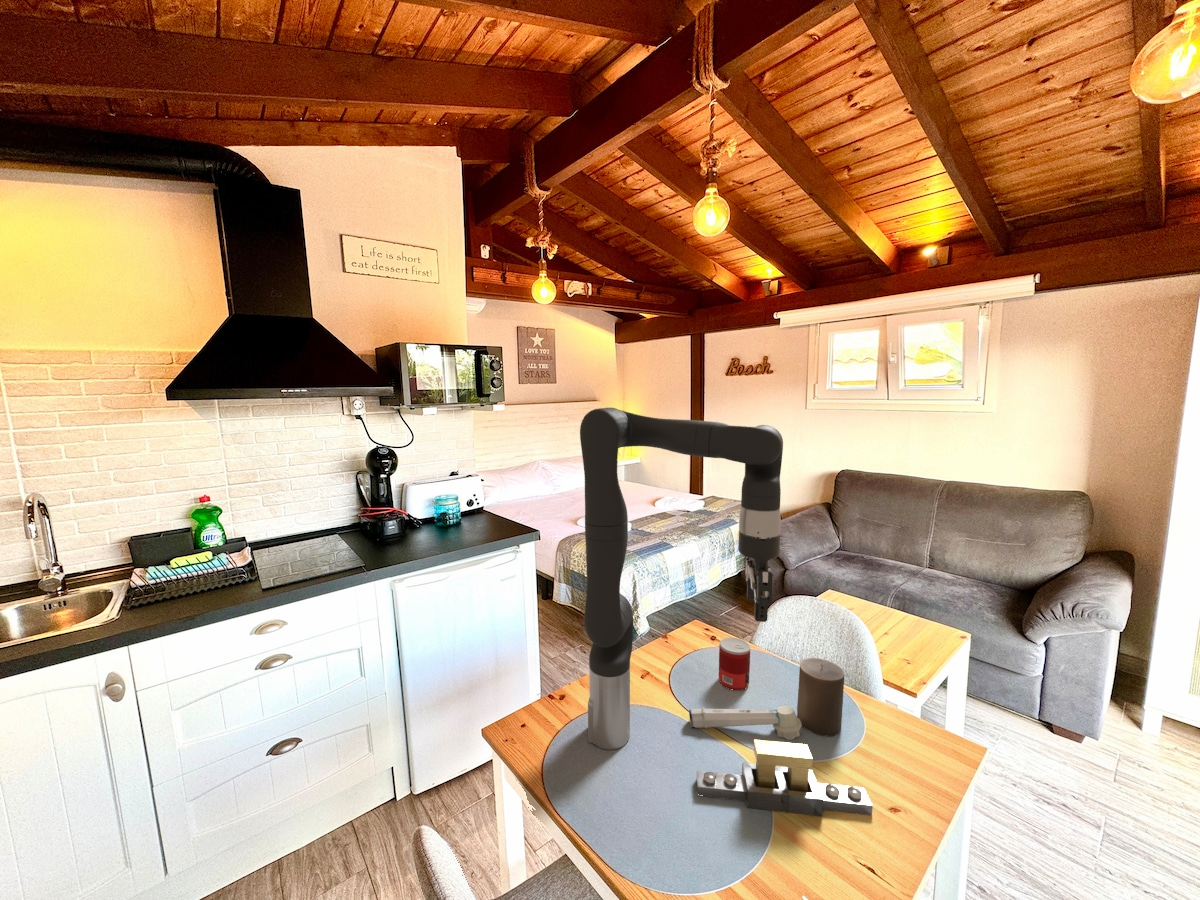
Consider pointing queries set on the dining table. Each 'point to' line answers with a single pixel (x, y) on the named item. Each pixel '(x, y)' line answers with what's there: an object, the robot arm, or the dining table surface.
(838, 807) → the chain ends
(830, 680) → the pillar candle
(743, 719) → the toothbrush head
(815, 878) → the dining table surface
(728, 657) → the canned food
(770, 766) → the wooden u-shaped block
